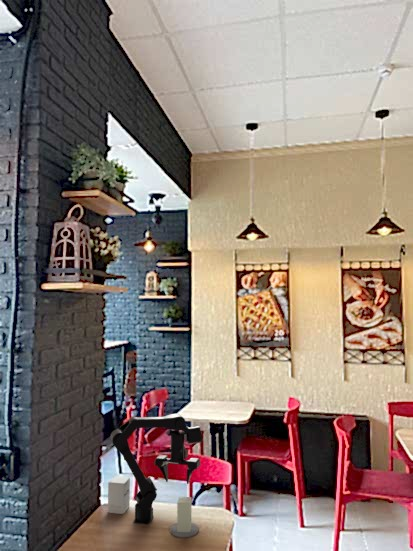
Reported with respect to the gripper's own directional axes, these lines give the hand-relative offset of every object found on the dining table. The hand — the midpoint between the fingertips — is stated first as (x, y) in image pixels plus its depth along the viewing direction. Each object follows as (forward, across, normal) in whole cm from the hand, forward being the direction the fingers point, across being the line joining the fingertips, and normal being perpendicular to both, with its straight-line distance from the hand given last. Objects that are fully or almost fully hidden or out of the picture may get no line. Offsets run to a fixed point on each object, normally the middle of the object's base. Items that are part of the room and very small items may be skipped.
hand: (177, 482), depth 189 cm
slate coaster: (+13, -7, +12) cm, 19 cm away
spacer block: (+12, -7, +12) cm, 19 cm away
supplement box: (+13, +26, +2) cm, 29 cm away
